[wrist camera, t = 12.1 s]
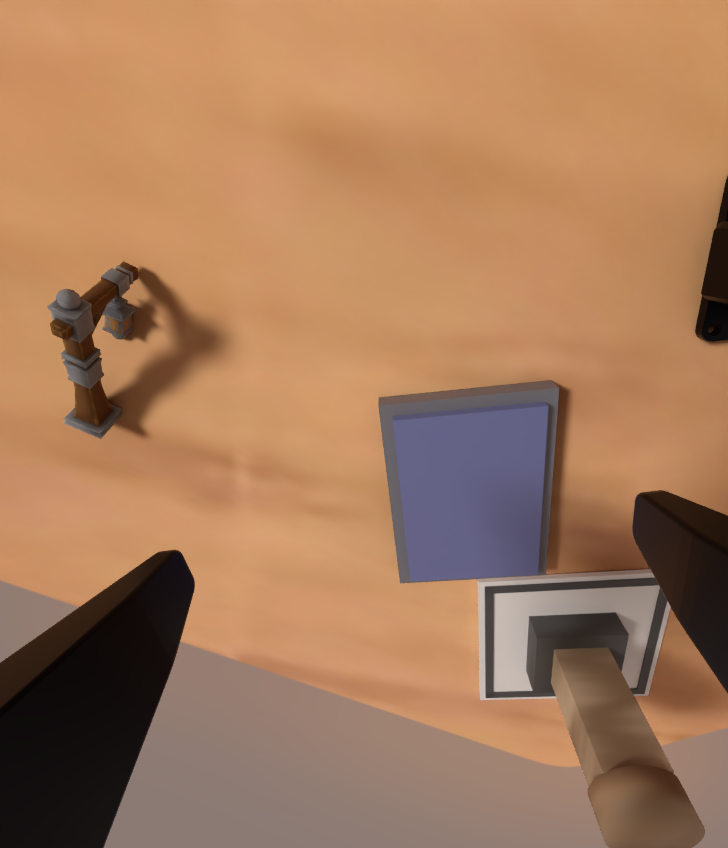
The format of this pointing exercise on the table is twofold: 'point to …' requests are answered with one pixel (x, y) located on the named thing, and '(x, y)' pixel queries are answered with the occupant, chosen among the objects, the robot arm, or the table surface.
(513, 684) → the marked card
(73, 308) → the wooden post with brackets
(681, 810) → the stamp
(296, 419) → the table surface
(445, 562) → the ink pad
